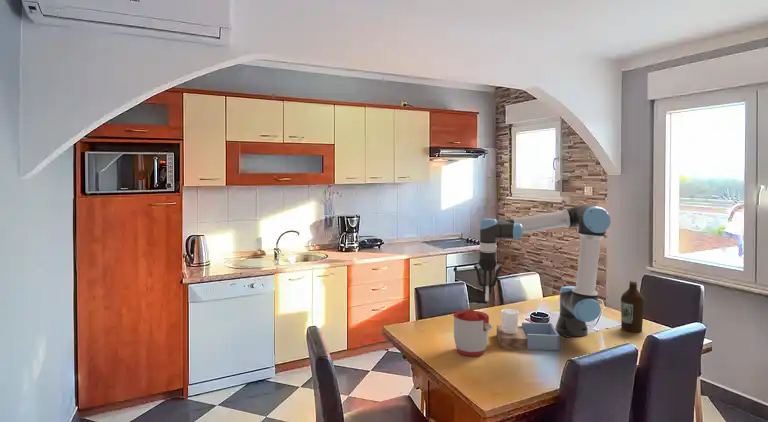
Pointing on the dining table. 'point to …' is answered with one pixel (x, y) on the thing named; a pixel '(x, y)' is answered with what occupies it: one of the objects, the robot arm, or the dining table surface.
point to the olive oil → (632, 309)
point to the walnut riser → (512, 339)
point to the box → (541, 336)
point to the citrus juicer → (471, 332)
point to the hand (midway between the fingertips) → (486, 300)
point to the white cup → (509, 321)
